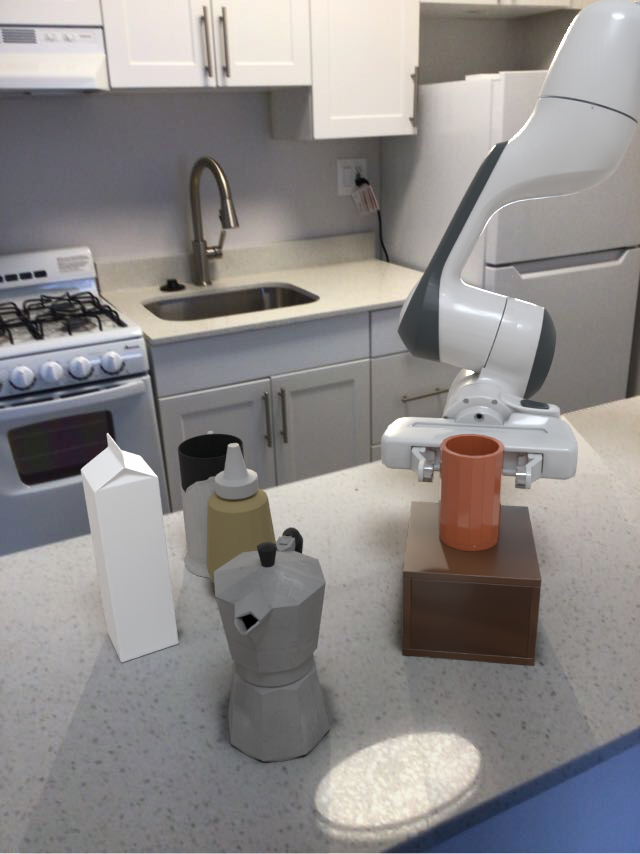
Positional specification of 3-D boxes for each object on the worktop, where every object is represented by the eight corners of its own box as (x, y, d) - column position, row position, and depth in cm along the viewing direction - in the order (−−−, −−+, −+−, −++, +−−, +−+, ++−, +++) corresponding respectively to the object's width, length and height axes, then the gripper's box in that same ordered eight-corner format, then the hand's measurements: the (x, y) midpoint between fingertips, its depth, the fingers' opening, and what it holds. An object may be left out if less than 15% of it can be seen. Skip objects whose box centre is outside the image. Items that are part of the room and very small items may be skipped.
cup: (491, 520, 79) (496, 432, 76) (505, 550, 74) (510, 456, 70) (434, 523, 79) (436, 434, 76) (443, 552, 74) (446, 458, 70)
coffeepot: (313, 792, 59) (303, 597, 53) (200, 774, 61) (178, 584, 55) (350, 665, 73) (346, 498, 67) (257, 654, 75) (244, 491, 69)
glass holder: (184, 581, 88) (170, 464, 83) (185, 524, 101) (174, 419, 96) (259, 573, 89) (250, 456, 84) (251, 517, 102) (243, 413, 97)
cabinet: (410, 574, 88) (411, 500, 84) (522, 581, 86) (528, 506, 82) (402, 655, 74) (402, 571, 71) (534, 665, 72) (541, 579, 69)
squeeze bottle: (264, 617, 81) (253, 464, 74) (196, 605, 84) (180, 456, 77) (291, 577, 88) (283, 434, 82) (228, 567, 91) (215, 428, 84)
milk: (121, 664, 75) (87, 460, 67) (106, 631, 80) (73, 438, 72) (180, 643, 77) (154, 445, 69) (162, 613, 82) (136, 425, 74)
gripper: (389, 397, 88) (368, 442, 75) (574, 405, 83) (584, 455, 71) (389, 448, 90) (369, 499, 78) (569, 458, 85) (578, 515, 73)
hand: (473, 478), depth 74 cm, fingers open, 8 cm apart
